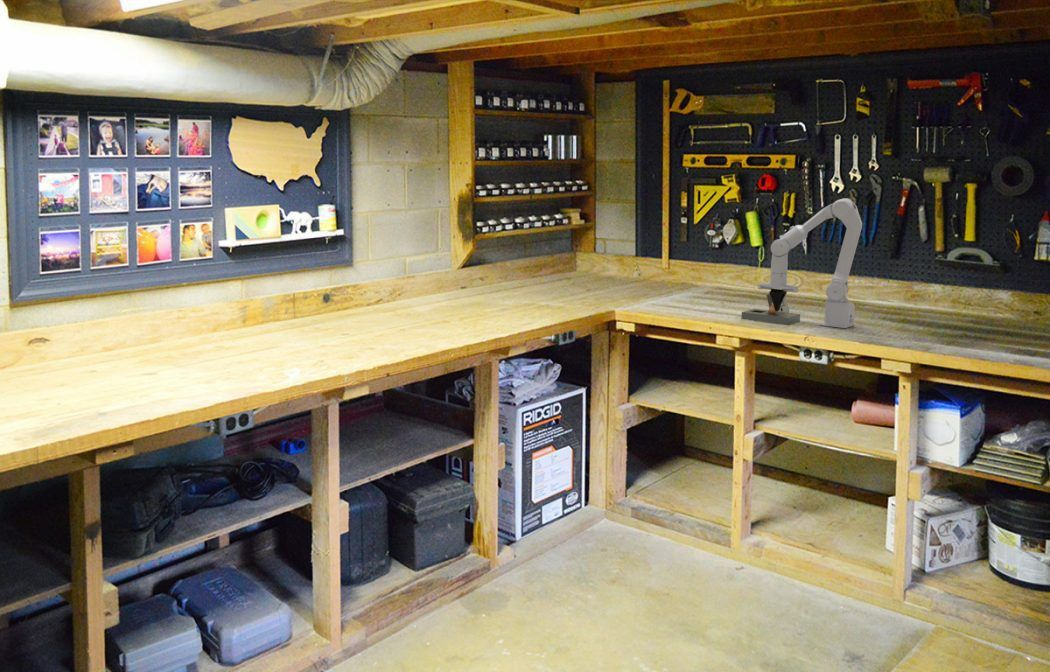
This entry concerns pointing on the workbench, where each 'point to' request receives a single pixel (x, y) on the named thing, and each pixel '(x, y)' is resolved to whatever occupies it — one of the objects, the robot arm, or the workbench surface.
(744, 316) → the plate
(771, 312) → the ball
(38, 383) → the workbench surface
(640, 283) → the workbench surface
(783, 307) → the electrical switch
